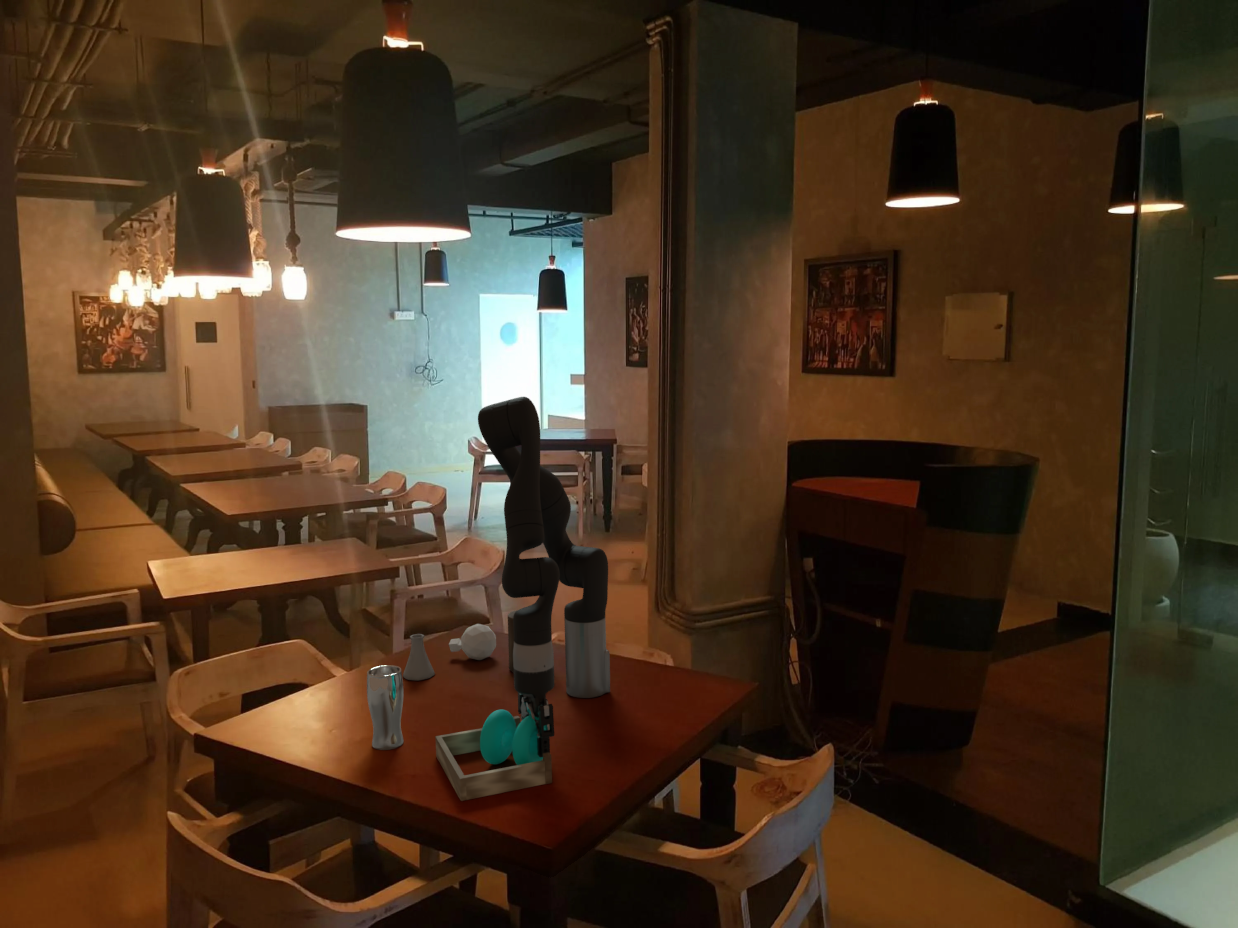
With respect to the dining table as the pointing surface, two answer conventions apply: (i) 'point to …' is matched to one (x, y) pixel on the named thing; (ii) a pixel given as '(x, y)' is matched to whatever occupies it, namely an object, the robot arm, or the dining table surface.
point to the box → (487, 780)
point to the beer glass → (385, 705)
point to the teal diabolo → (509, 739)
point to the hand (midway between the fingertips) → (536, 747)
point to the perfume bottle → (475, 642)
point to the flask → (418, 661)
